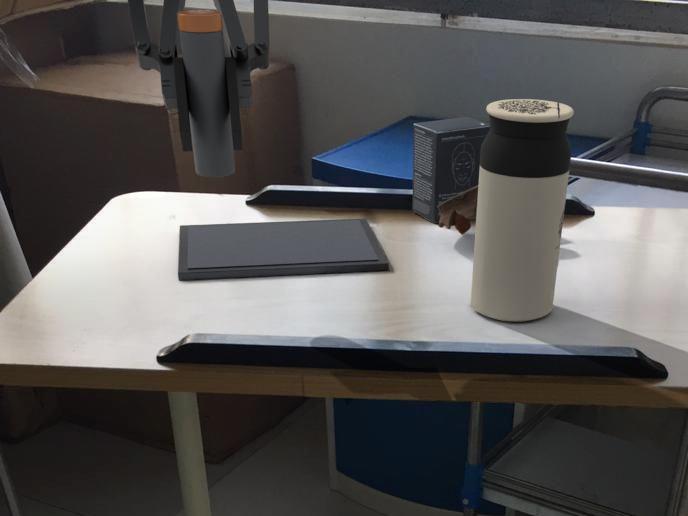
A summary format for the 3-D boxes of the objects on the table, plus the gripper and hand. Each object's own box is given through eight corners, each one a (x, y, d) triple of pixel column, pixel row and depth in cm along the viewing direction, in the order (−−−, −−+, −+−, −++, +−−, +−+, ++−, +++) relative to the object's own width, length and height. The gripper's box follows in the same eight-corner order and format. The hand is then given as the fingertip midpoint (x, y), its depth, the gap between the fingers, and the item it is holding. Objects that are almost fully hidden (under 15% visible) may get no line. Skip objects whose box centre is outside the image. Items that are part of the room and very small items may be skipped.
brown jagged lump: (481, 271, 96) (451, 197, 94) (445, 282, 105) (416, 215, 103) (567, 226, 100) (540, 154, 97) (525, 241, 108) (499, 174, 106)
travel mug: (462, 318, 84) (475, 112, 74) (479, 289, 91) (493, 95, 80) (545, 328, 83) (571, 119, 72) (557, 298, 89) (581, 101, 78)
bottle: (195, 178, 75) (176, 15, 68) (195, 167, 78) (177, 9, 71) (236, 176, 76) (222, 15, 69) (235, 166, 79) (221, 9, 72)
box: (462, 204, 115) (467, 115, 109) (487, 216, 111) (493, 124, 105) (410, 212, 112) (412, 121, 105) (433, 224, 108) (437, 131, 102)
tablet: (178, 280, 91) (177, 272, 90) (180, 232, 104) (179, 224, 103) (389, 270, 95) (389, 262, 94) (366, 224, 107) (366, 217, 107)
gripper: (285, -75, 80) (311, 164, 77) (96, -78, 78) (115, 169, 74) (286, -151, 73) (314, 110, 70) (78, -157, 70) (97, 114, 67)
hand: (211, 140), depth 72 cm, fingers closed on bottle, 3 cm apart
